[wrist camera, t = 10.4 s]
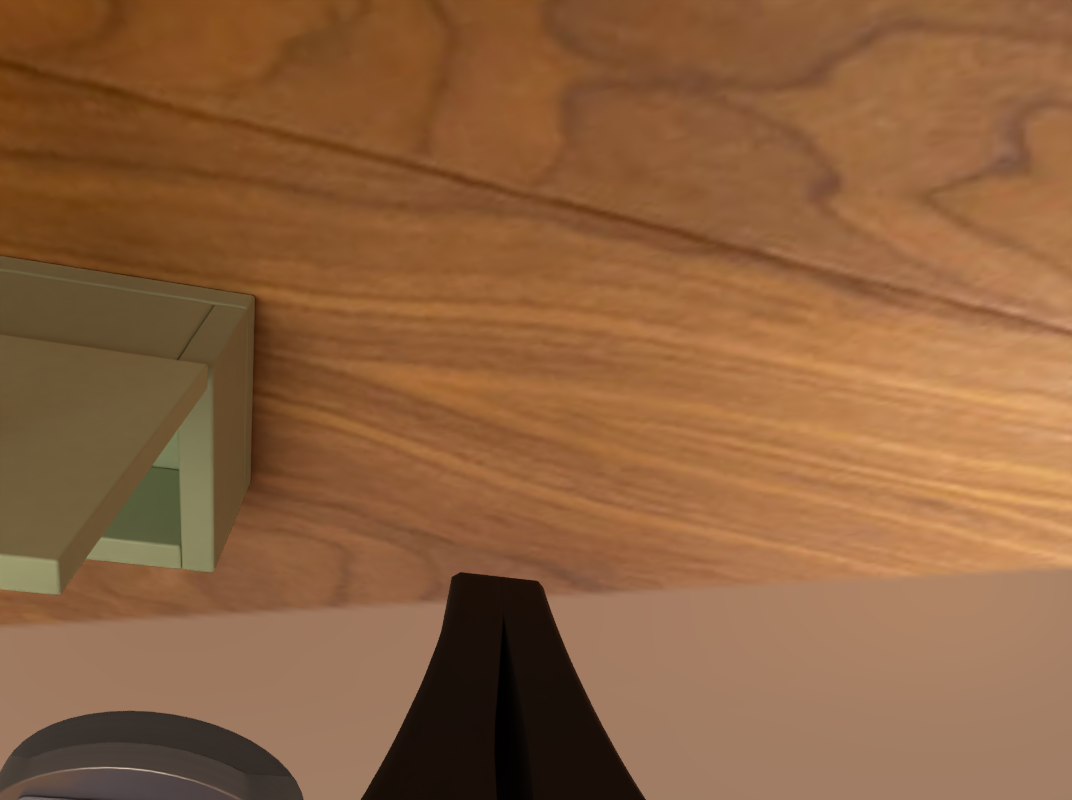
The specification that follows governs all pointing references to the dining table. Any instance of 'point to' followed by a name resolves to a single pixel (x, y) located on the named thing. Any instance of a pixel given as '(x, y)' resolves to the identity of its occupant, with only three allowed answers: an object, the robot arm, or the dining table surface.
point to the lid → (77, 448)
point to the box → (207, 432)
